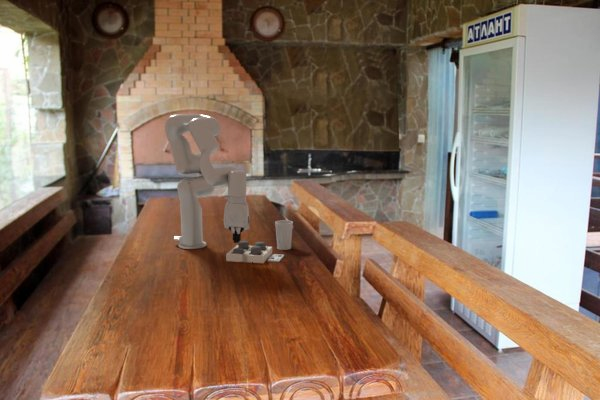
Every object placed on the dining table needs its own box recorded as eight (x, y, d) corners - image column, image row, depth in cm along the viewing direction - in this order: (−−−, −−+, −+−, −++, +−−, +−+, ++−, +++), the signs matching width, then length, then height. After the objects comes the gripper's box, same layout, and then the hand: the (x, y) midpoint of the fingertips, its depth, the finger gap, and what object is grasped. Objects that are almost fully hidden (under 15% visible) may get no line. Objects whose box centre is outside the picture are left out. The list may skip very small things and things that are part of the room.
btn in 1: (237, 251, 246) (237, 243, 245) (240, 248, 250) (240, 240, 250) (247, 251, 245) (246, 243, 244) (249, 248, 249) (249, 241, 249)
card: (267, 261, 238) (267, 259, 238) (272, 255, 246) (272, 253, 246) (279, 261, 237) (279, 260, 237) (284, 256, 245) (284, 254, 245)
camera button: (232, 258, 239) (231, 250, 239) (235, 255, 244) (235, 248, 243) (242, 259, 238) (241, 251, 238) (245, 256, 243) (245, 248, 242)
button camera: (249, 256, 238) (249, 248, 237) (252, 253, 242) (252, 245, 241) (259, 257, 237) (259, 248, 236) (262, 254, 241) (262, 246, 240)
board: (226, 261, 238) (226, 254, 238) (237, 251, 253) (237, 244, 252) (263, 263, 235) (263, 256, 234) (272, 253, 249) (272, 246, 249)
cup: (290, 250, 254) (290, 224, 252) (273, 249, 255) (273, 223, 253) (294, 246, 262) (294, 220, 259) (277, 245, 263) (277, 219, 261)
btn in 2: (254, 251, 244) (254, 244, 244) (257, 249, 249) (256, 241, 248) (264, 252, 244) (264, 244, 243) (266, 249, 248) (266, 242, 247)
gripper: (216, 200, 234) (216, 243, 238) (251, 202, 232) (251, 246, 235) (222, 196, 242) (222, 238, 245) (256, 199, 239) (256, 241, 243)
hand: (236, 242), depth 240 cm, fingers closed
